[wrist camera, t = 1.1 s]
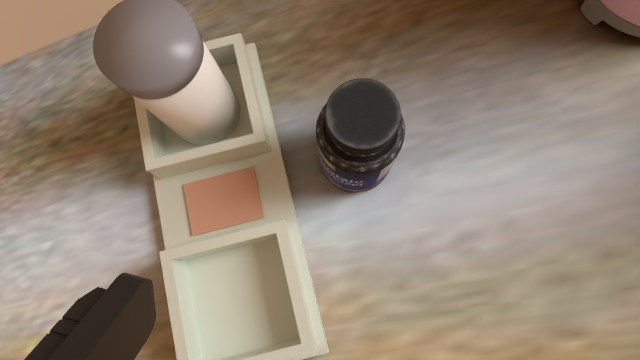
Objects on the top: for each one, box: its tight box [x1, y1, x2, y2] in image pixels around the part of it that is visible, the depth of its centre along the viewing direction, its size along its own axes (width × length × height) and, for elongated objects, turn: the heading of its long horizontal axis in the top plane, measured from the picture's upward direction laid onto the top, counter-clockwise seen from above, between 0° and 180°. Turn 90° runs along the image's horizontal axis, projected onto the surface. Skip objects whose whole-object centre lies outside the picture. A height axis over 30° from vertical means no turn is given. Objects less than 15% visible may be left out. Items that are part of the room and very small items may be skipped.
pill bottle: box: [316, 78, 405, 192], centre depth 31 cm, size 6×6×11 cm
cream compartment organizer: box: [93, 0, 329, 360], centre depth 30 cm, size 27×11×13 cm, turn 14°
